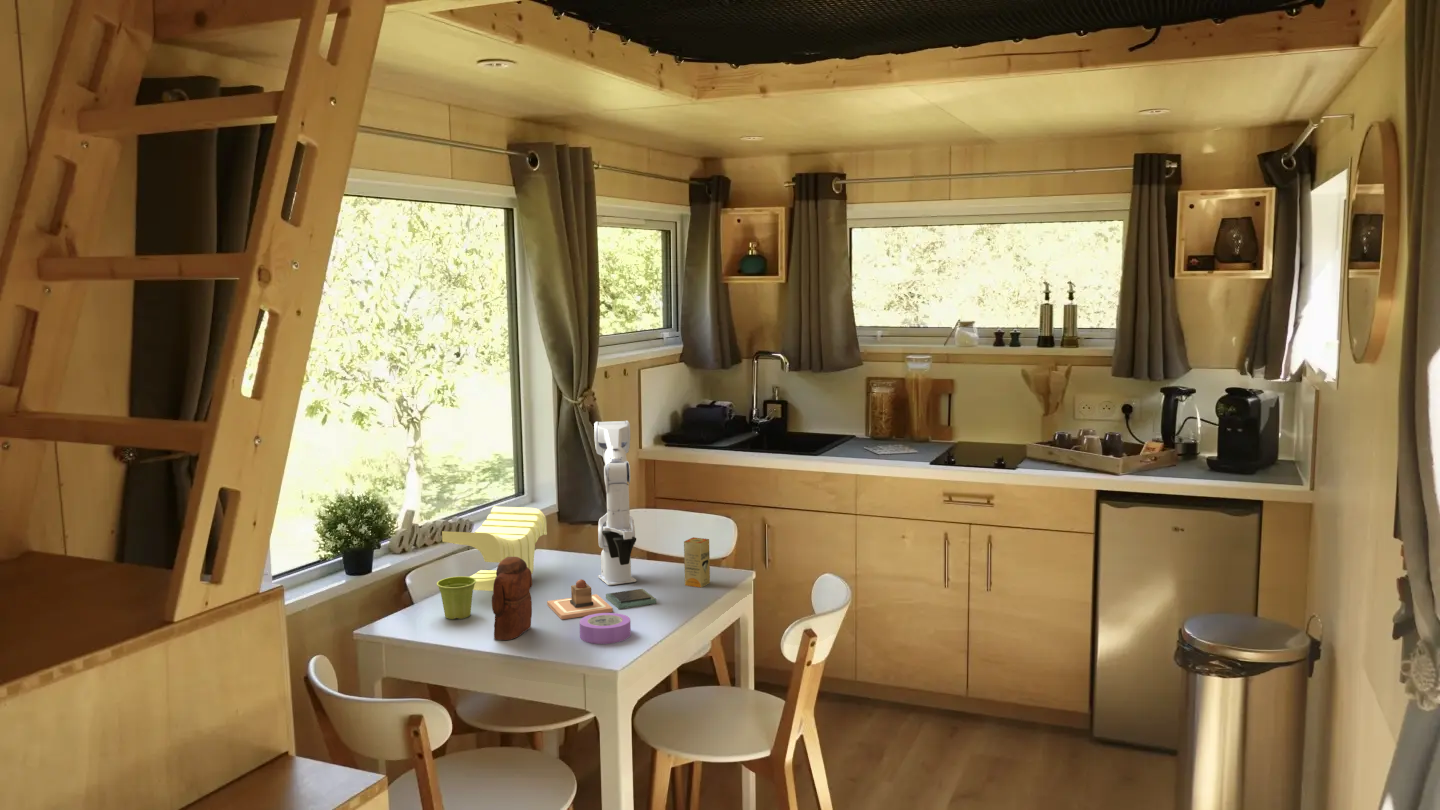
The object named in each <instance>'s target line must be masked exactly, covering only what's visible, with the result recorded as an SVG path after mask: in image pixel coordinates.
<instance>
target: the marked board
mask: <svg viewBox="0 0 1440 810" xmlns="http://www.w3.org/2000/svg"><path fill="white" fill-rule="evenodd" d="M570 600H572V598H571V597H567V598H561V599H560V598H559V599H553V600H547V601H546V603H547V604H546V605H547V606H548V607H549V608H550V609H551V610H552V612H554V614H555V615H556V616H558V618H559V619H560V620H562V621H563V620H568V619H575V618H581V617H582V618H583V617H585V616H588V615H592V614H598V613H614V611H613V610H614V608H613V607H612V606H611V605H610V604H609V603H608V602H606V601H605V600H604V599H603V598H602V597H600V596H599V595H598V594H597V593H595V594H592V602H593V606H586V607H579V608H575V607H574V606H573V605H572V604H571V603H570Z"/></svg>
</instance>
